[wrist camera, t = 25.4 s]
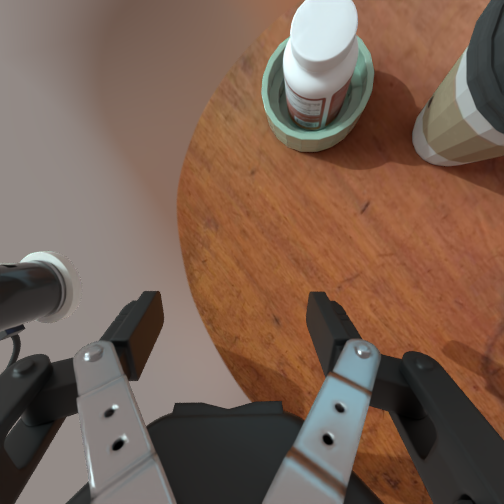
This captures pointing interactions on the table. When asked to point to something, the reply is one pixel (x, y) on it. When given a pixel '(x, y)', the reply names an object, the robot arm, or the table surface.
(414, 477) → the table surface
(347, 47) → the pill bottle
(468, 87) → the coffee cup
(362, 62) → the bowl
